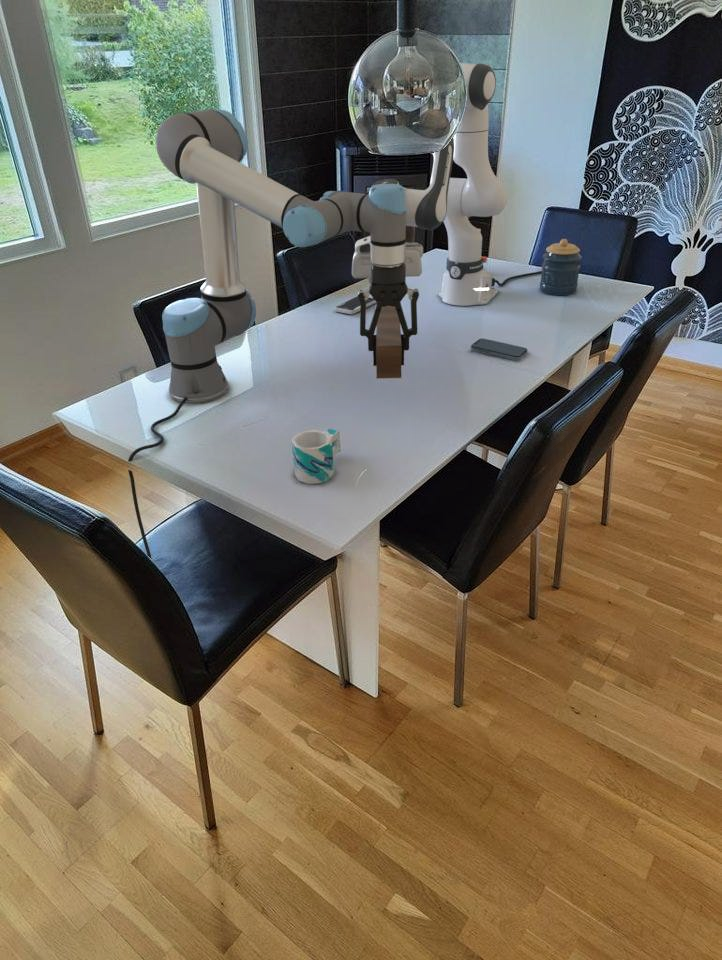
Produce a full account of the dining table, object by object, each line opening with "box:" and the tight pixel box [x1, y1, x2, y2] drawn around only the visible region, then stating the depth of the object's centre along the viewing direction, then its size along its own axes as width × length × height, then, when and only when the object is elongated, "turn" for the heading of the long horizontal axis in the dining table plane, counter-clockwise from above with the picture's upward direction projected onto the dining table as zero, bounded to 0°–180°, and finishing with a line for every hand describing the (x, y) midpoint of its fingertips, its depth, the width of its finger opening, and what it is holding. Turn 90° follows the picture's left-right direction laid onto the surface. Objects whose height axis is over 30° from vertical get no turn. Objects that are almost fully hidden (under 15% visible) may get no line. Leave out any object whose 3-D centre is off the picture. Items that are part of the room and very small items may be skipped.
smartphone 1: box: [334, 295, 376, 315], centre depth 231 cm, size 8×1×15 cm
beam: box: [375, 306, 402, 379], centre depth 175 cm, size 62×6×8 cm, turn 178°
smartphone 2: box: [470, 337, 528, 361], centre depth 193 cm, size 8×2×15 cm
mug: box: [291, 427, 341, 485], centre depth 140 cm, size 8×12×8 cm
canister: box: [539, 238, 582, 296], centre depth 234 cm, size 13×13×18 cm
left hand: (388, 363), depth 157 cm, fingers closed on beam, 6 cm apart
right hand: (387, 291), depth 196 cm, fingers closed on beam, 5 cm apart
